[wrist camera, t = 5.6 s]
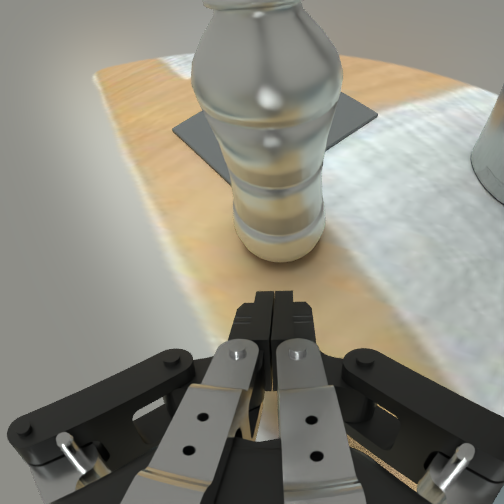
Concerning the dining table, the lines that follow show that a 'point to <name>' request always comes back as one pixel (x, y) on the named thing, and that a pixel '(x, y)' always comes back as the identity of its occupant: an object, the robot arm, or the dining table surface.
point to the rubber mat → (207, 147)
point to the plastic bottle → (270, 117)
